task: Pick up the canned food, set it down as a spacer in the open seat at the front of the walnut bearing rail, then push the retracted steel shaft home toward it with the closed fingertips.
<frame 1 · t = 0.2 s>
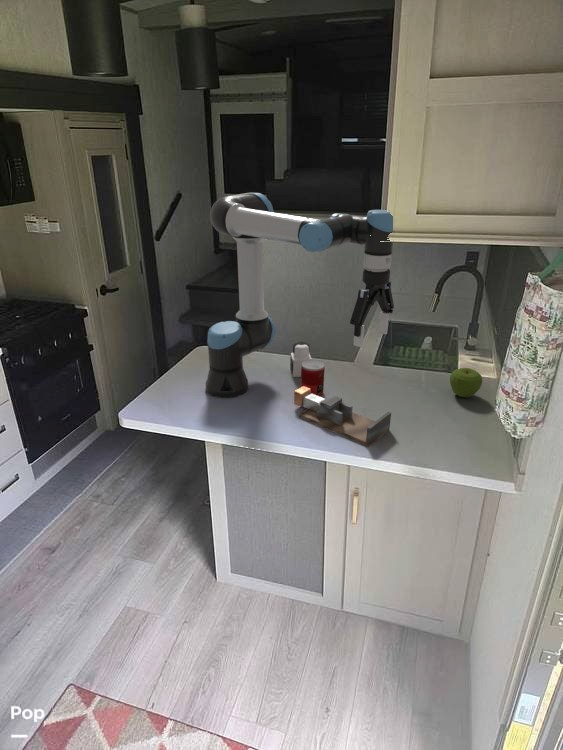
hand: (370, 339, 153), 27 cm above the countertop, fingers open, 13 cm apart
shaft: (316, 402, 167), point 4 cm above the countertop, slide at 0.0 cm
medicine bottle: (300, 373, 196), on the countertop
bearing rail: (343, 423, 163), on the countertop
canned food: (312, 393, 181), on the countertop
apple: (463, 395, 180), on the countertop
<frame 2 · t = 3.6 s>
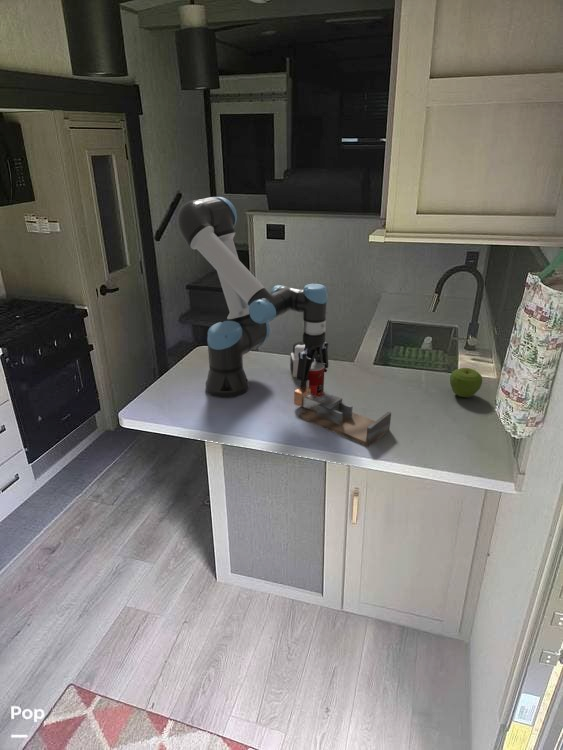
hand: (312, 392, 181), 0 cm above the countertop, fingers closed on canned food, 8 cm apart
canned food: (312, 393, 181), on the countertop, touching gripper
everything else where it was.
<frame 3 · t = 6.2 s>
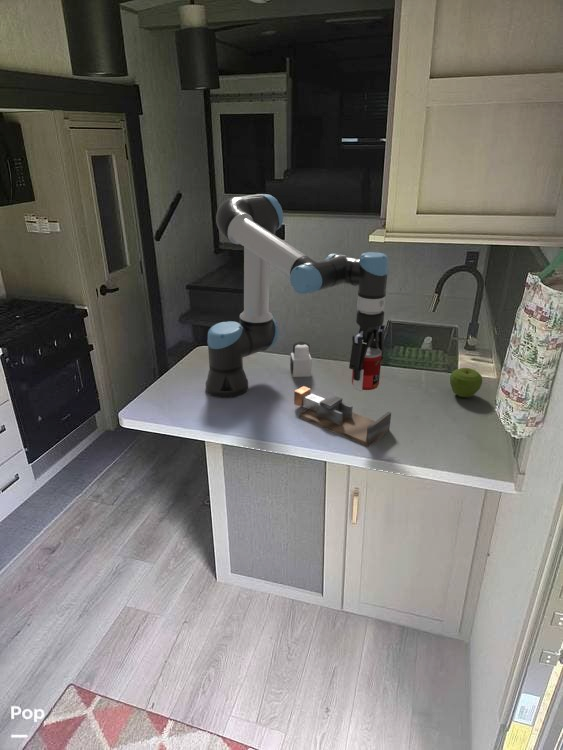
hand: (365, 384, 153), 16 cm above the countertop, fingers closed on canned food, 8 cm apart
canned food: (365, 385, 153), point 15 cm above the countertop, touching gripper
everything else where it was.
when the fingers open (3 cm above the countertop, at t = 9.1 s): canned food drops 1 cm, resting on bearing rail.
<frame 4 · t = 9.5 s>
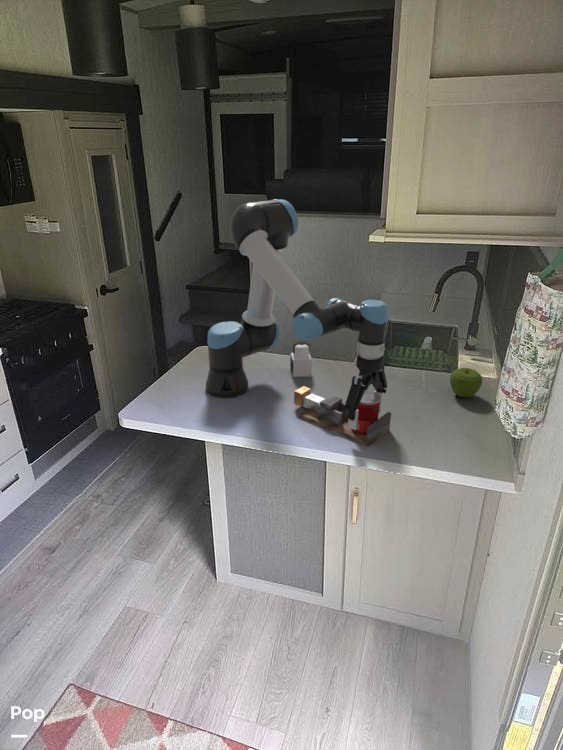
hand: (364, 419, 156), 4 cm above the countertop, fingers open, 13 cm apart
canned food: (363, 428, 158), point 1 cm above the countertop, touching bearing rail
everything else where it was.
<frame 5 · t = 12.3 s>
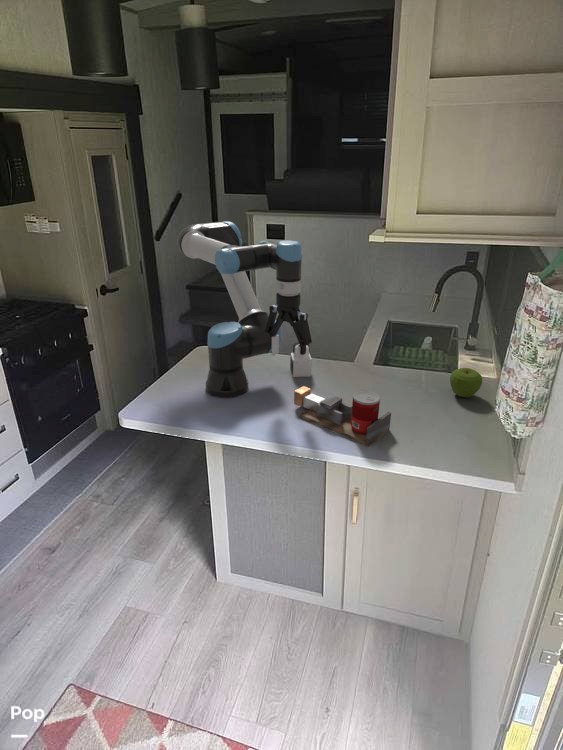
hand: (287, 358, 169), 16 cm above the countertop, fingers open, 10 cm apart
nothing on the countertop moved.
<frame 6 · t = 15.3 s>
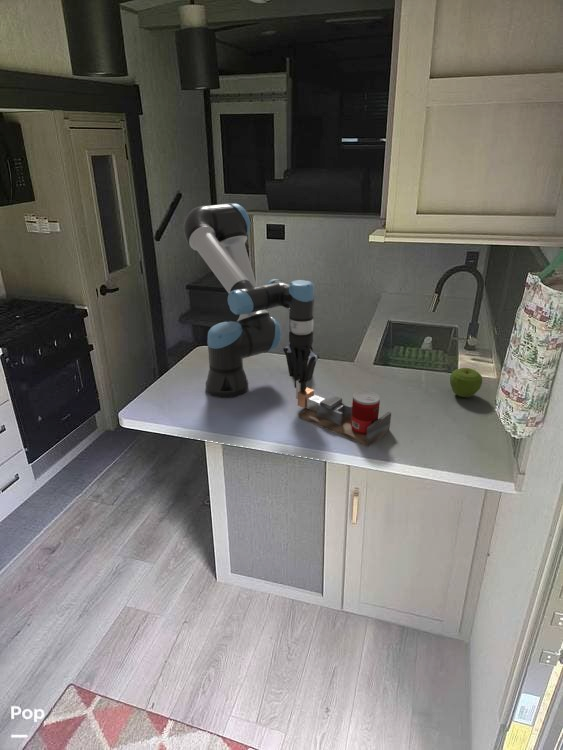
hand: (300, 397, 171), 3 cm above the countertop, fingers closed
shaft: (320, 403, 166), point 4 cm above the countertop, slide at 1.4 cm, touching gripper
everything else where it was.
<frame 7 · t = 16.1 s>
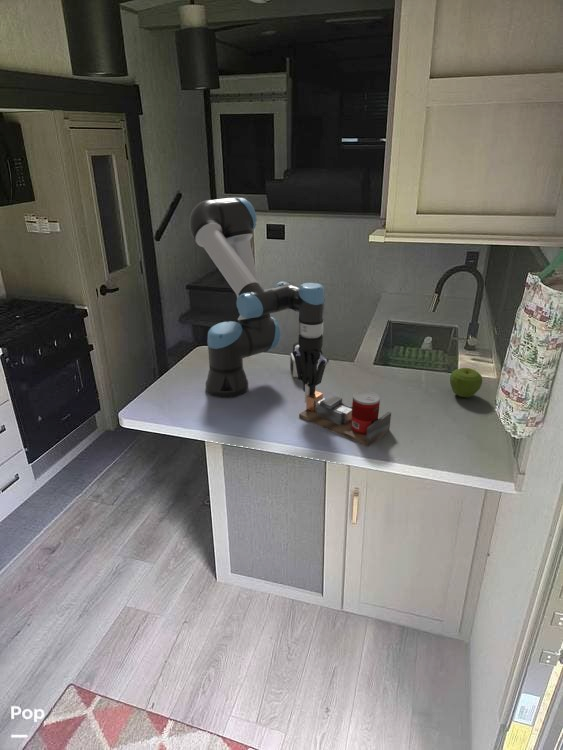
hand: (308, 401, 169), 3 cm above the countertop, fingers closed
shaft: (329, 407, 164), point 4 cm above the countertop, slide at 5.0 cm, touching gripper
everything else where it was.
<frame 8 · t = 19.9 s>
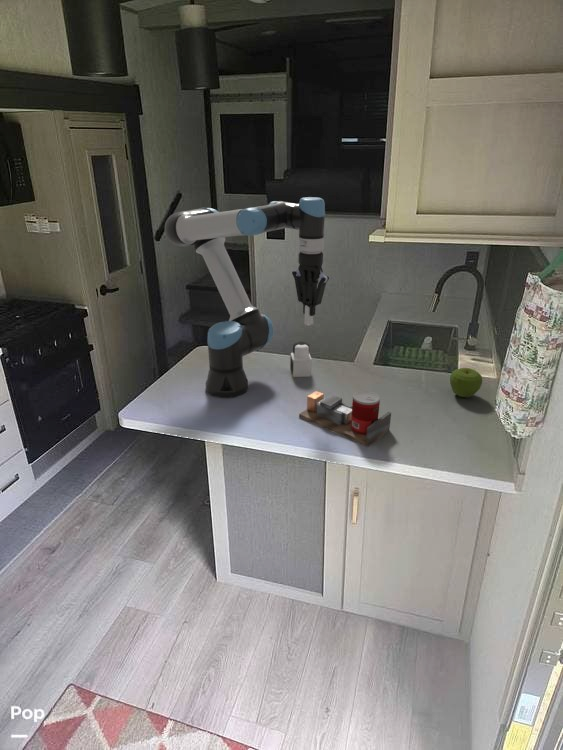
hand: (308, 324, 168), 26 cm above the countertop, fingers closed
shaft: (330, 407, 164), point 4 cm above the countertop, slide at 5.4 cm
everything else where it was.
at the end: shaft slide at 5.4 cm; canned food inside the target area on the bearing rail (0.1 cm from its centre), point 1.0 cm above the bearing rail's base; canned food tilted 0° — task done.
